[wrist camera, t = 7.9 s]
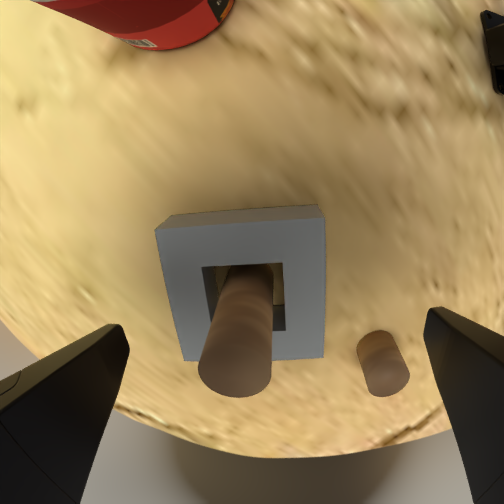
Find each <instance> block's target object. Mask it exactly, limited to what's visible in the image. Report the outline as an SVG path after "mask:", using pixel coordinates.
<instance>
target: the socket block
mask: <svg viewBox="0 0 504 504" xmlns="http://www.w3.org/2000/svg"><path fill="white" fill-rule="evenodd" d="M155 235H156V240H157V245H158V250H159V256H160V261H161V265H162V270H163V275H164V280H165V284H166V289H167V293H168V298H169V302H170V306H171V311H172V315H173V319H174V323H175V327H176V331H177V335H178V339H179V343H180V347H181V350H182V354H183V358H184V361H199V360H200V357H201V354H202V351H203V348H204V345H205V341H206V338H207V335H208V332H209V329H210V326H211V322H212V319H213V316H214V313H215V310H216V307H217V304H218V301H219V297H218V290H217V284H216V277H215V270H214V266H226V265H245V264H263V263H280V262H283V279H284V298H285V305H280V306H273V327H272V361H276V360H296V359H312V358H323V355H324V332H325V292H326V236H325V217H324V215H323V213H322V211H321V210H320V208H319V206H318V205H302V206H285V207H269V208H254V209H240V210H227V211H215V212H203V213H192V214H181V215H171V216H170V217H169V218H168V219H166V220H165V221H164V222H163V223H162V224H161V225H159V226H158V227H157V228H156V229H155Z"/></svg>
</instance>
